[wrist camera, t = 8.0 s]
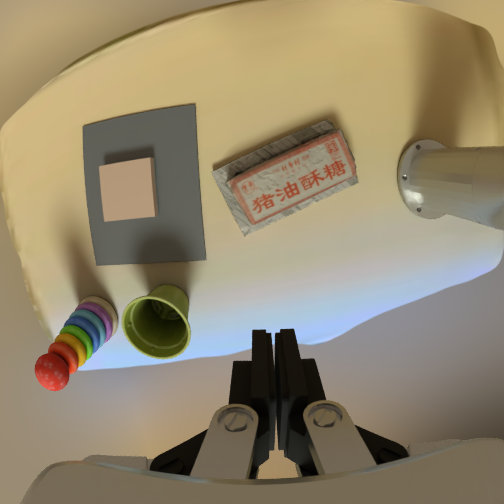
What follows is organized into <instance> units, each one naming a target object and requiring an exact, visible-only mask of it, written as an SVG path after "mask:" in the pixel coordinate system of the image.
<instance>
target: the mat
mask: <svg viewBox="0 0 504 504" xmlns="http://www.w3.org/2000/svg"><path fill="white" fill-rule="evenodd" d="M83 158H84V175H85V187H86V198H87V207H88V215H89V223H90V230H91V236H92V243H93V249H94V254H95V260H96V265H97V266H100V265H121V264H141V263H160V262H179V261H198V260H206V252H205V242H204V231H203V220H202V208H201V195H200V181H199V166H198V149H197V130H196V106H195V104H194V105H186V106H179V107H172V108H166V109H159V110H154V111H148V112H143V113H138V114H133V115H128V116H123V117H119V118H114V119H110V120H106V121H102V122H98V123H94V124H90V125H87V126H83ZM143 158H155V170H156V184H157V195H158V206H159V215H157V216H155V217H146V218H135V219H126V220H116V221H107V222H104V215H103V206H102V197H101V186H100V174H99V166H103V165H108V164H114V163H119V162H125V161H131V160H137V159H143Z"/></svg>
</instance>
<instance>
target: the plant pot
mask: <svg viewBox="0 0 504 504" xmlns="http://www.w3.org/2000/svg"><path fill="white" fill-rule="evenodd" d="M155 302H156V304H157V307H158V309H159V310H158V309H157V308H156V307H155ZM188 311H189V301H188V298H187V296H186V294H185V293H184V292H183V291H182V290H181V289H179V288H177V287H175V286H173V285H161V286H159V287H157V288H156V289H155V290H153V291H152V292H151V293H149V294H148V295H147V296H142V297H139V298H136V299H135V300H133V301H132V302H130V303H129V304H128V305H127V307H126V308H125V310H124V312H123V315H122V328H123V331H124V334H125V336H126V338H127V339H128V341H129V342H130V343H131V345H132V346H134V347H135V348H136V349H137V350H138V351H139V352H141V353H143V354H144V355H146V356H149V357H152V358H157V359H169V358H174V357H176V356H178V355H180V354H181V353H183V352H184V351H185V349H186V348H187V347H188V345H189V342H190V338H191V330H190V325H189V323H188ZM177 314H179V316H177V317H171V316H172V315H177Z"/></svg>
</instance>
